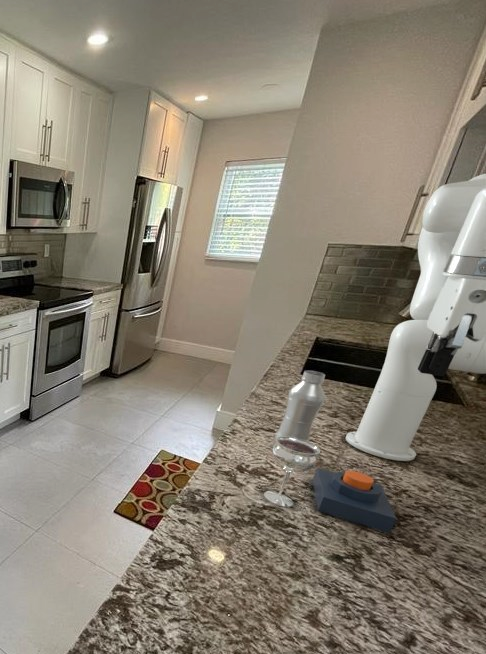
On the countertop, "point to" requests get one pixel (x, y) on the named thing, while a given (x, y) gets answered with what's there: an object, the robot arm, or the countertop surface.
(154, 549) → the countertop surface
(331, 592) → the countertop surface
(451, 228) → the robot arm
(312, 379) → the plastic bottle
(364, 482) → the orange button cap
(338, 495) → the button base
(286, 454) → the wineglass
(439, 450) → the countertop surface
